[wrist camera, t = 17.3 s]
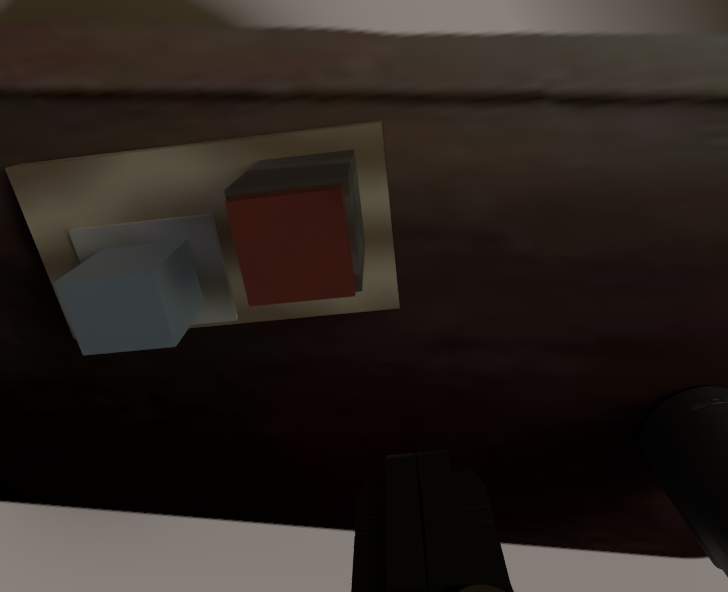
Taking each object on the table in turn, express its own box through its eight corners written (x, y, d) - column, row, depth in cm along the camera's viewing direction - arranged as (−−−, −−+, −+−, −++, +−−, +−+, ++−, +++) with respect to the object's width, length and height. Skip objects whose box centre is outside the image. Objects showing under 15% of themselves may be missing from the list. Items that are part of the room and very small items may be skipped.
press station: (398, 299, 39) (405, 372, 30) (84, 329, 40) (-1, 407, 31) (381, 120, 33) (383, 142, 24) (19, 164, 35) (-106, 199, 26)
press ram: (359, 249, 33) (355, 296, 26) (274, 258, 33) (248, 306, 27) (348, 161, 30) (340, 188, 24) (256, 172, 31) (224, 201, 24)
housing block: (205, 304, 37) (175, 346, 31) (125, 312, 37) (83, 355, 32) (187, 239, 35) (152, 272, 29) (103, 248, 35) (53, 282, 30)
